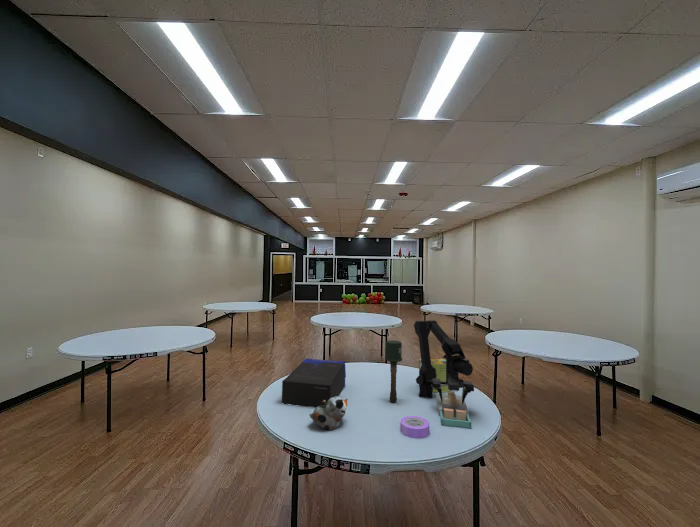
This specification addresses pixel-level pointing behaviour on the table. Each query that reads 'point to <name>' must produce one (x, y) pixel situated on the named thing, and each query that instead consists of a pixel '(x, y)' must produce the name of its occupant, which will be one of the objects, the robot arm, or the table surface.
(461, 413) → the tile
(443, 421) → the tray
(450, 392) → the tan stepped block
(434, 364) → the protein box
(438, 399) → the board
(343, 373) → the headphone box
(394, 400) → the potato masher grenade
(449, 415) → the tile
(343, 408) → the lucky cat figurine
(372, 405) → the table surface
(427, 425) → the masking tape
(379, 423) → the table surface
